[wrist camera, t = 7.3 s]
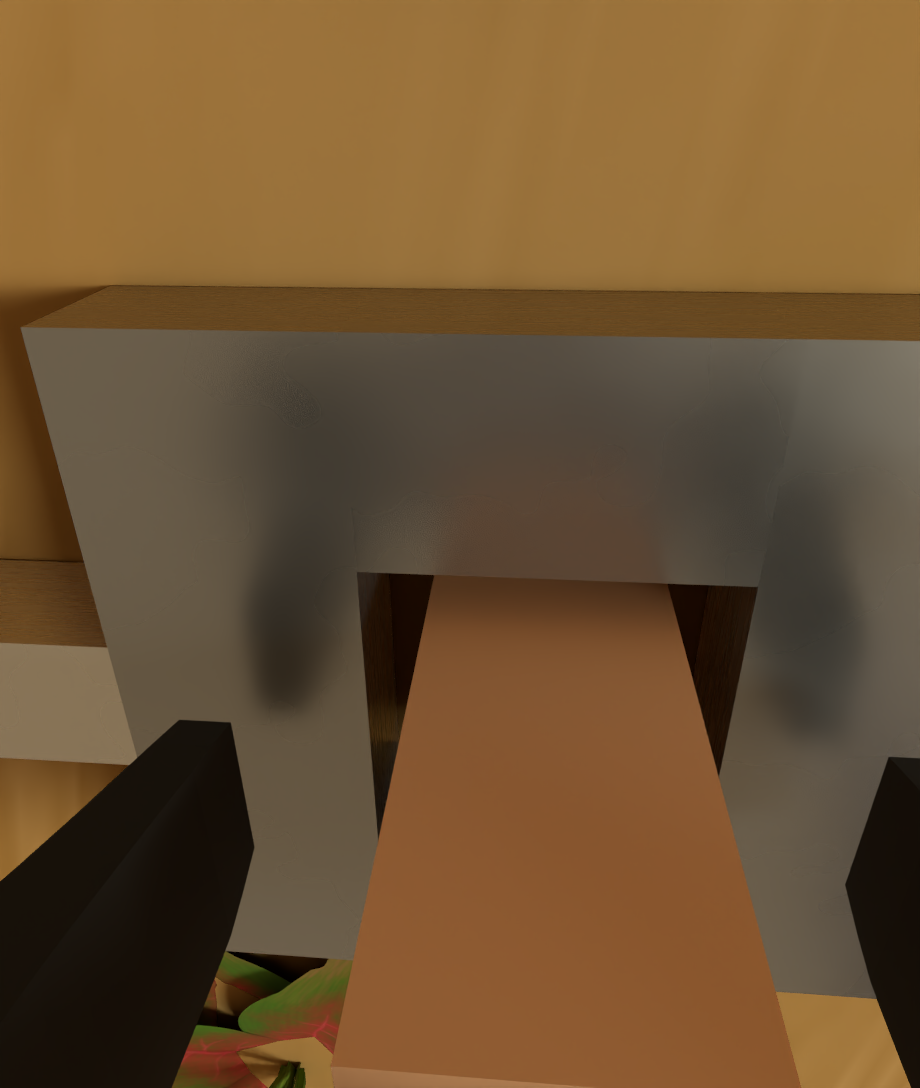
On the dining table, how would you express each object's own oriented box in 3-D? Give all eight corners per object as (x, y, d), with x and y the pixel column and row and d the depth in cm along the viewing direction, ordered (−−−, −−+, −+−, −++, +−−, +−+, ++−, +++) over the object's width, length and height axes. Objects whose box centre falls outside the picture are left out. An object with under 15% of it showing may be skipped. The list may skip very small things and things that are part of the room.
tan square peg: (637, 716, 13) (732, 1303, 6) (445, 708, 13) (363, 1265, 7) (658, 549, 11) (805, 1104, 5) (441, 542, 11) (330, 1067, 5)
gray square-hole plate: (1054, 295, 9) (1176, 345, 7) (849, 886, 14) (894, 1000, 12) (-269, 281, 10) (-433, 320, 9) (-31, 830, 15) (-104, 926, 13)
